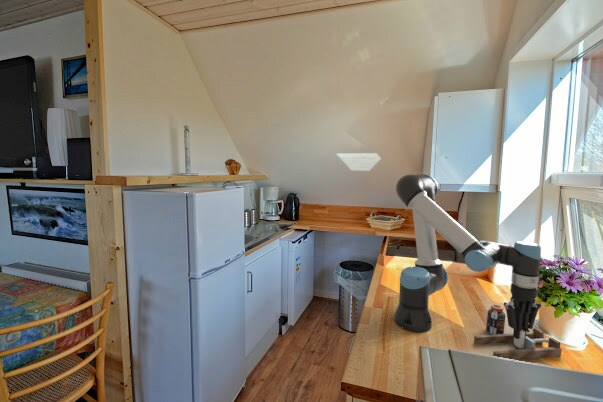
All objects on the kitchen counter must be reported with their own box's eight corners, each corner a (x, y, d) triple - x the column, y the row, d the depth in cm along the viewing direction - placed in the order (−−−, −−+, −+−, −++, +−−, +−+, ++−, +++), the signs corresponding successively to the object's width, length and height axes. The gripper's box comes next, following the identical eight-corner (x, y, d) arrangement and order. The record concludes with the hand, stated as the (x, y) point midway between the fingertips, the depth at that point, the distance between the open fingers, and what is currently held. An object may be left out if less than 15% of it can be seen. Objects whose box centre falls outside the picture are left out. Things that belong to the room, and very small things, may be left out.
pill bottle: (497, 338, 111) (500, 311, 109) (482, 330, 116) (484, 304, 115) (507, 334, 113) (509, 308, 112) (492, 327, 118) (494, 301, 117)
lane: (495, 361, 97) (496, 348, 96) (473, 343, 107) (474, 331, 107) (560, 356, 100) (562, 343, 99) (533, 339, 110) (534, 327, 109)
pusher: (531, 355, 100) (532, 342, 99) (513, 342, 107) (514, 330, 107) (559, 353, 101) (560, 340, 101) (539, 340, 109) (540, 328, 108)
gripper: (516, 289, 96) (510, 353, 99) (550, 288, 97) (544, 351, 100) (499, 281, 104) (494, 340, 106) (531, 280, 105) (525, 338, 107)
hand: (518, 346), depth 103 cm, fingers closed
